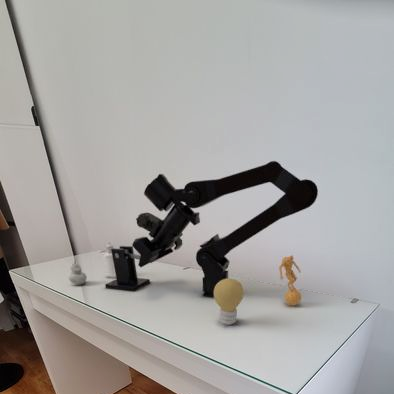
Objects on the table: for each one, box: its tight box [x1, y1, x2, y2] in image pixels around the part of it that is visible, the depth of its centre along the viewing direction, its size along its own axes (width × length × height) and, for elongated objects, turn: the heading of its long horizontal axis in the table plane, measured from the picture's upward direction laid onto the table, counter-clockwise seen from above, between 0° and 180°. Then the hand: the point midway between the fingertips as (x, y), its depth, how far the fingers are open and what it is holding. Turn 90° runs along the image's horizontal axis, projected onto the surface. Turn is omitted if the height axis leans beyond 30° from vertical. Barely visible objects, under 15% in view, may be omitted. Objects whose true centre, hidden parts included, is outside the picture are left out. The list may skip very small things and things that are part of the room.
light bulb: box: [213, 277, 245, 326], centre depth 62 cm, size 6×6×10 cm
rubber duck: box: [68, 260, 87, 286], centre depth 94 cm, size 5×7×8 cm
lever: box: [121, 248, 141, 261], centre depth 86 cm, size 11×5×2 cm, turn 66°
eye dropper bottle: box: [102, 240, 117, 279], centre depth 99 cm, size 4×6×12 cm
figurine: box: [278, 254, 302, 307], centre depth 70 cm, size 8×6×12 cm
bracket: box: [104, 245, 151, 292], centre depth 90 cm, size 11×9×12 cm
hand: (144, 263), depth 86 cm, fingers closed on lever, 5 cm apart
